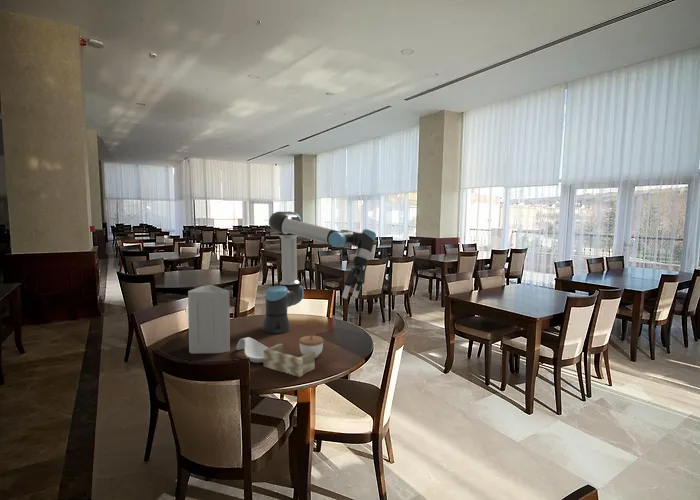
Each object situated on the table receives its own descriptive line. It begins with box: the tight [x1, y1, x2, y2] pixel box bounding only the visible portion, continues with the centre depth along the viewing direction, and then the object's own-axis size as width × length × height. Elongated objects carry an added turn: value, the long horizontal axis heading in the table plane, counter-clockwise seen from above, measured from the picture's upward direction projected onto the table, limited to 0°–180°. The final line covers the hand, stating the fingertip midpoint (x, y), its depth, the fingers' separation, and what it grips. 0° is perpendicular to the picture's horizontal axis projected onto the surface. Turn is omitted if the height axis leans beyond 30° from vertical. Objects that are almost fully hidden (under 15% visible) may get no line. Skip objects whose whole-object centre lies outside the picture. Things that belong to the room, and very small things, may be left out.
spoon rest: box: [236, 336, 269, 364], centre depth 170 cm, size 24×12×7 cm, turn 42°
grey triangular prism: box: [187, 284, 231, 354], centre depth 177 cm, size 19×15×28 cm
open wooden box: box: [263, 343, 316, 378], centre depth 159 cm, size 19×10×7 cm, turn 59°
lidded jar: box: [298, 335, 324, 359], centre depth 172 cm, size 11×11×9 cm
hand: (349, 297), depth 191 cm, fingers open, 13 cm apart
